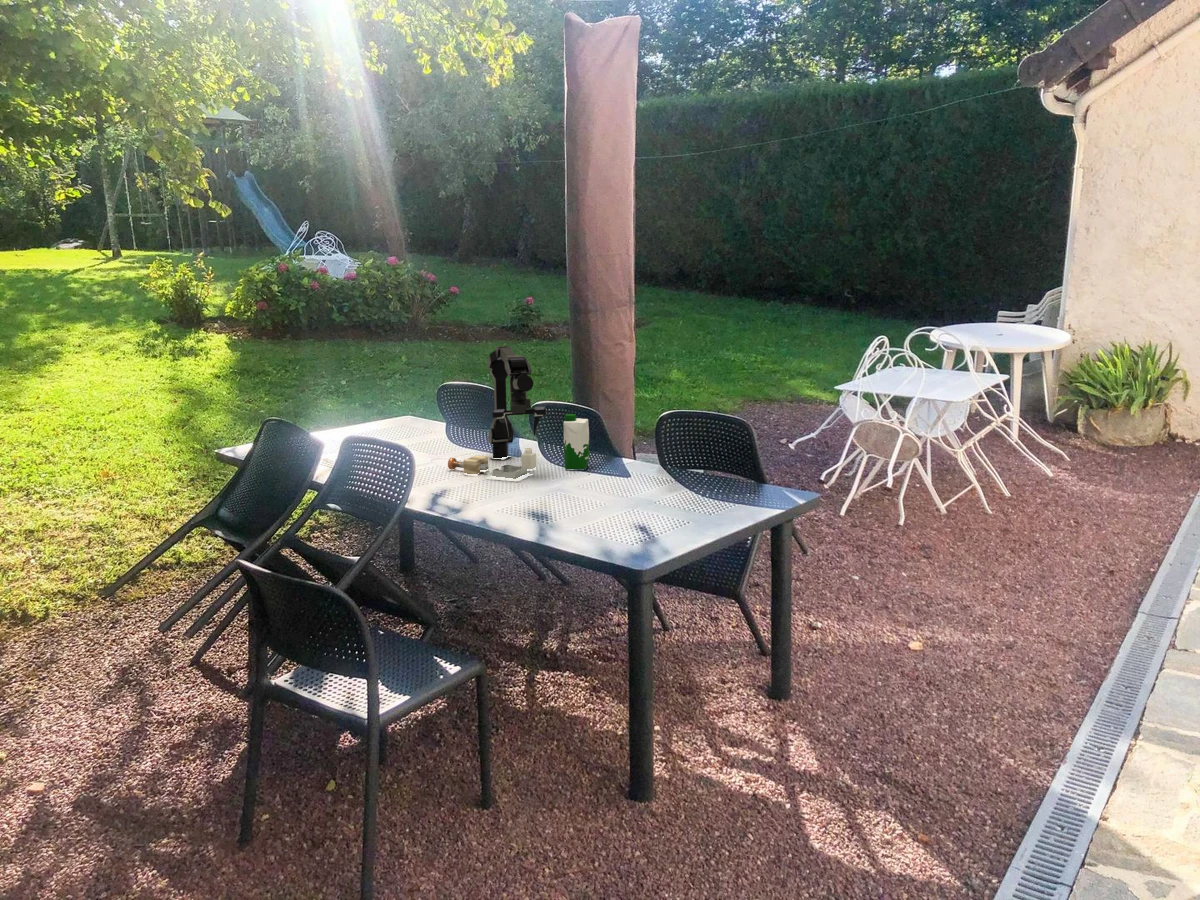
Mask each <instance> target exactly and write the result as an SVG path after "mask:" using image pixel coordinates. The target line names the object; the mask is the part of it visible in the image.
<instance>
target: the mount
mask: <svg viewBox="0 0 1200 900" xmlns="http://www.w3.org/2000/svg"><path fill="white" fill-rule="evenodd" d="M462 462H463V463H464V468H463V474H464V473H467V474H478V473H480V474H481V472H480V464H486V465H487V469H489V456H487V455H486V456H484V455H473V456H471V457H469V458H466V459H464V460H463V461H462Z"/></svg>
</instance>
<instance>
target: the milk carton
mask: <svg viewBox="0 0 1200 900" xmlns="http://www.w3.org/2000/svg"><path fill="white" fill-rule="evenodd" d="M589 458H590V428H589V419H588V418H578V417H577V414H575V413H566V414H564V420H563V461H564V470H565V469H585V468H586V467H587V465H589ZM587 468H588V467H587ZM587 468H586V469H587ZM586 469H585V470H586Z"/></svg>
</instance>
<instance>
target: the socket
mask: <svg viewBox="0 0 1200 900" xmlns="http://www.w3.org/2000/svg"><path fill="white" fill-rule="evenodd" d="M491 473H492V474H491V475H492V476H496V477H505V478H513V479H516V478H518V477H520V476H522V475H525V474H527V473H528V471H527V467H521V466H520V465H511V464H504V465H501V466H500V468H494V469H492V471H491Z"/></svg>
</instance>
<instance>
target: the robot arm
mask: <svg viewBox="0 0 1200 900" xmlns="http://www.w3.org/2000/svg"><path fill="white" fill-rule="evenodd" d="M487 368H488V372H489V374H490V376H492V378H493V395H494V400H493V401H494V409H493V410H492V411H491V412H492V418H493V419H492V421H491V422H490V428H489V432H488V435H487V440H488V443H489V444H490V445H492V456H493V458H502V457H507V456H508V455H509V443H511V444H512V443H513V442H514V433H515V431H514V429H513V426H512V423H511V422H510V420H509V418H508V416H524V415H535V416H534V419H533V437H535V436H536V432H537V430H538V424H539V422H540V419H541V418H544V415H547V408H546V406H535V407H534V408H532V403H531V401H532V400H531V398H528V397H527V396H528V394H527V392H529V391H531V390H532V389H533V387H534V381H533V378H532V377H531V375H532V368H531V366H530V363H529V360H528V359H527V358H526V356H525V355H520V354H519V355H518V354H516V352H514V351H513V350H512V348H511V346H508V345H500V346H499V345H498V346H496V347H495V350H493V351H492V352H491V353H490V354H489V355H488V357H487ZM507 377H509V380H508V382H509V396H510V397H509V398H510V403H509V404H510V409H509V410H507V409H508V408H507V405H508V404H507V379H508V378H507Z"/></svg>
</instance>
